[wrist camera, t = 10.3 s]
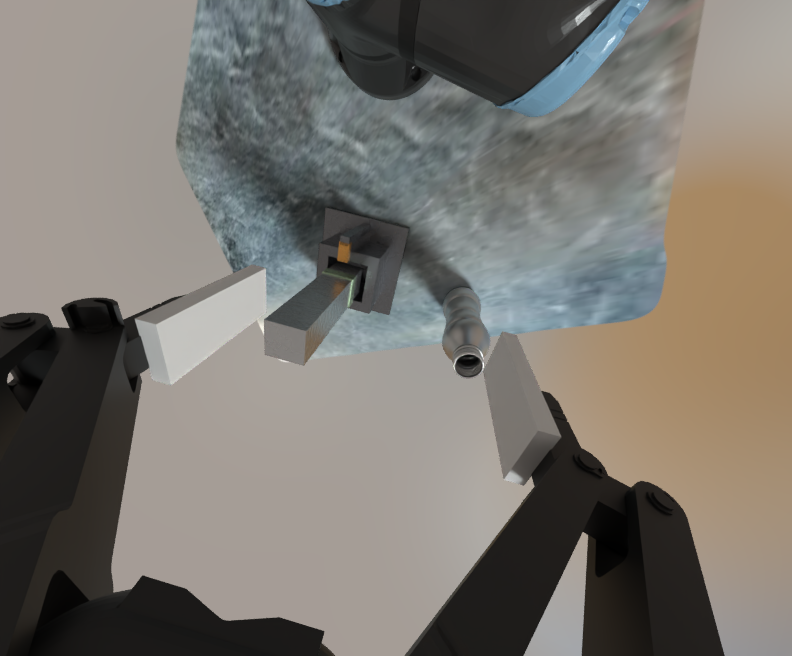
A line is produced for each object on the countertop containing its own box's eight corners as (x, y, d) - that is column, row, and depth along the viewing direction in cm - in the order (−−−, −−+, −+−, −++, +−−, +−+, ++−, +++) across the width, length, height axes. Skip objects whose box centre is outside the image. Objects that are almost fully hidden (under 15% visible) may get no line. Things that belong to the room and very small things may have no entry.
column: (336, 260, 43) (262, 317, 25) (364, 267, 43) (307, 330, 25) (333, 288, 45) (263, 358, 28) (359, 294, 45) (305, 370, 28)
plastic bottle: (441, 317, 53) (439, 386, 35) (443, 282, 50) (442, 340, 32) (477, 318, 52) (492, 391, 34) (481, 283, 49) (501, 343, 31)
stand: (327, 206, 47) (293, 215, 36) (409, 228, 46) (398, 243, 36) (320, 294, 54) (290, 322, 44) (389, 312, 54) (376, 345, 44)
